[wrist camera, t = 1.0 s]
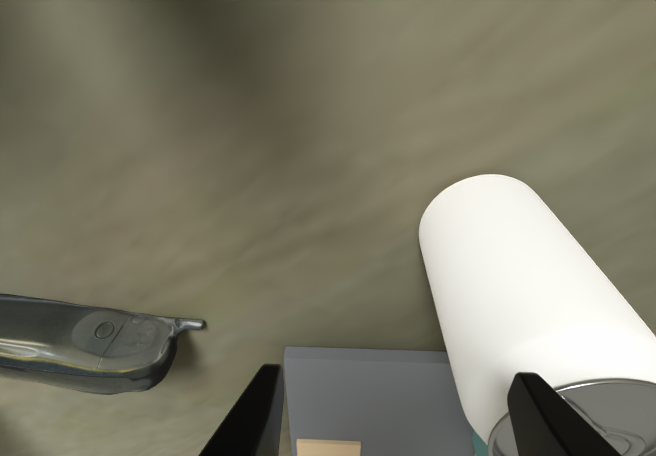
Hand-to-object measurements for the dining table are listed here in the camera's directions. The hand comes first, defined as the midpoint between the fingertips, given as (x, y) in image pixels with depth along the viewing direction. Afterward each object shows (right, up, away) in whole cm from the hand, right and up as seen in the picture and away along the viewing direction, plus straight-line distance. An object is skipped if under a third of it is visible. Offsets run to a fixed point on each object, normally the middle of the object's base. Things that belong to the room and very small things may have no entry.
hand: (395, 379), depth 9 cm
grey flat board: (+6, -10, +22) cm, 24 cm away
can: (+7, +4, +13) cm, 15 cm away
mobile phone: (-17, -2, +18) cm, 25 cm away
